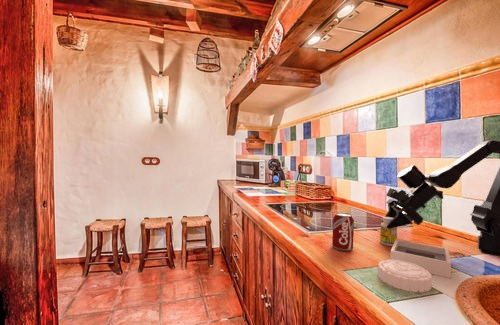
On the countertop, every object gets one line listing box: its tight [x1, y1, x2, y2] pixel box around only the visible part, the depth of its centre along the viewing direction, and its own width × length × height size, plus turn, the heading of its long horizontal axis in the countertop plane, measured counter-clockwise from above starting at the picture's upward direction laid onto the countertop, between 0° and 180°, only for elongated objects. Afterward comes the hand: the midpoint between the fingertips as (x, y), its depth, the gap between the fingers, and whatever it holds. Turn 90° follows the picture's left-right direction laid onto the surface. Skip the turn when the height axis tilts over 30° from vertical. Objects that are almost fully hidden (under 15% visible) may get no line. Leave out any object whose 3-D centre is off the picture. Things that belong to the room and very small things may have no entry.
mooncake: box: [376, 259, 433, 293], centre depth 65 cm, size 12×12×4 cm
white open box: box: [389, 238, 452, 279], centre depth 76 cm, size 14×14×4 cm
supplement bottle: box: [379, 216, 398, 247], centre depth 92 cm, size 5×5×10 cm
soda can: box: [331, 211, 355, 252], centre depth 86 cm, size 7×7×12 cm
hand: (384, 225), depth 92 cm, fingers closed on supplement bottle, 5 cm apart
